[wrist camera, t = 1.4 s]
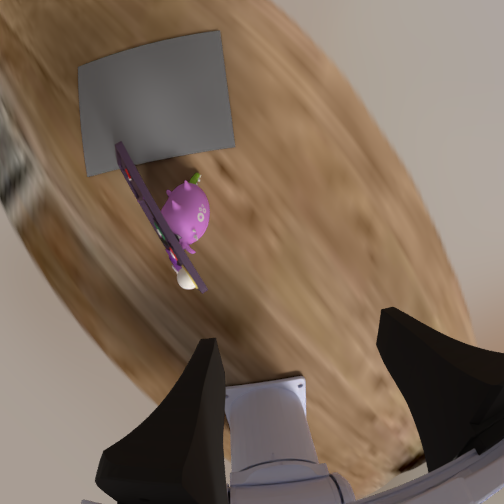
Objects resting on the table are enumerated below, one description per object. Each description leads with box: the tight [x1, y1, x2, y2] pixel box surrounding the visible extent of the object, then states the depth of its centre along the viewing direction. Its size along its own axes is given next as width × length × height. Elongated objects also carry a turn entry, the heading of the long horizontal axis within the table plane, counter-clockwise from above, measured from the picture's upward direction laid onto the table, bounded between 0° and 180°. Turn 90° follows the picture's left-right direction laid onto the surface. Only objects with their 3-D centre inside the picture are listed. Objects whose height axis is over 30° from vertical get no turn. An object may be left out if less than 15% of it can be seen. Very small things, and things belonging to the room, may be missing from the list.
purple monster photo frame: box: [115, 141, 210, 294], centre depth 17 cm, size 7×5×9 cm
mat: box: [78, 30, 235, 177], centre depth 17 cm, size 9×11×1 cm
